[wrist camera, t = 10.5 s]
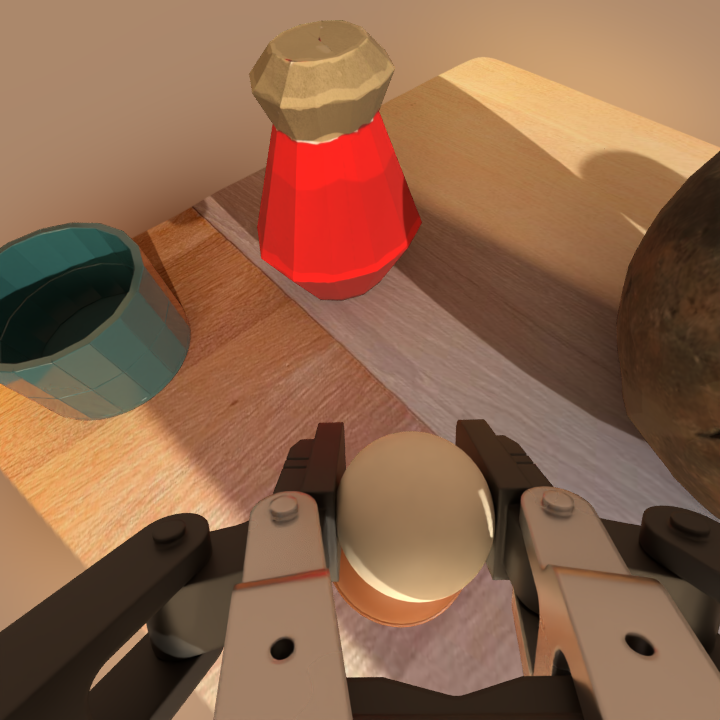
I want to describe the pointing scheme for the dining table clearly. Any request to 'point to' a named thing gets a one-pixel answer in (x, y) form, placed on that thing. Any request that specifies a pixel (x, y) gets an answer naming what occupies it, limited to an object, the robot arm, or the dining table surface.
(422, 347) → the dining table surface
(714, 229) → the pot
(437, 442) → the drumstick
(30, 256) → the bowl
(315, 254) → the bottle
